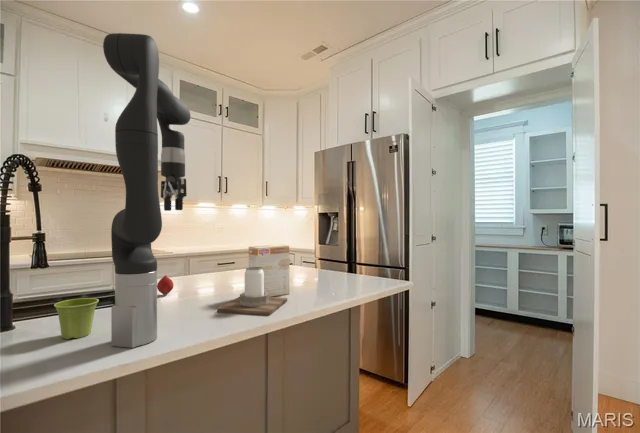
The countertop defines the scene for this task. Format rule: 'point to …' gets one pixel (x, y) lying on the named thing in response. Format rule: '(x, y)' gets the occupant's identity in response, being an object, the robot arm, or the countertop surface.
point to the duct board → (253, 310)
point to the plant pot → (76, 316)
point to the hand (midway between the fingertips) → (173, 210)
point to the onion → (165, 285)
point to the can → (254, 282)
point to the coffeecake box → (272, 267)
